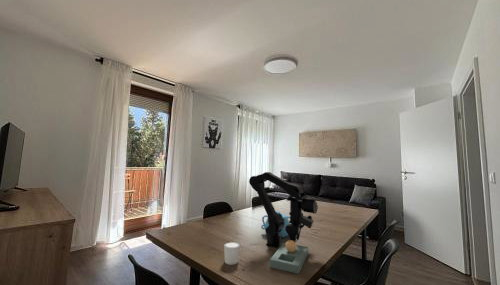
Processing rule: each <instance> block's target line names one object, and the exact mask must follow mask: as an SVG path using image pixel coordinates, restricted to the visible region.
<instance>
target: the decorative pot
mask: <svg viewBox="0 0 500 285" xmlns="http://www.w3.org/2000/svg"><path fill="white" fill-rule="evenodd" d="M276 213H278V214H281V215H282V217H283V219H284V220H285V221H284V223H285V225H284V228H283V229H282V230H281V232H280V236H281V238H286V237H287V236H288V234H287V232H286V231H285V227H286V226H287V225H288V224H292V223H289V221H290V220H289V219H290V215H289V216H287V214H285V213H281V212H280V211H276ZM265 218H267V219H266V220H265ZM261 221H262V223H263V224H262V225H261V227H260V228H261V229H262V230H264V231H265V229H266V228H267V227H268V226H269V224H268V215H267V214H266V215H263V216H262V219H261ZM288 237H289V236H288Z"/></svg>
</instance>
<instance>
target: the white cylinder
mask: <svg viewBox="0 0 500 285" xmlns="http://www.w3.org/2000/svg"><path fill="white" fill-rule="evenodd" d="M240 246H241V245H240V243H238V242H235V241H234V242H233V241H231V242H226V243H224V244H223V249H224V254H223V255H224V262H225V264H226V265H231V266H232V265H236V264H238V263H239V256H240V248H241V247H240Z"/></svg>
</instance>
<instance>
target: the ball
mask: <svg viewBox="0 0 500 285" xmlns="http://www.w3.org/2000/svg"><path fill="white" fill-rule="evenodd" d="M285 243H286V245H285V247H286V249H287V251H289V252H294V251H295V250H296V247H297V246H296V245H297V244H296V243H297V242H294V241H292V240H290V239H289V240H287V241H286V242H285Z"/></svg>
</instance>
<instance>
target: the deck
mask: <svg viewBox="0 0 500 285" xmlns="http://www.w3.org/2000/svg"><path fill="white" fill-rule="evenodd" d="M285 245H286V242H283V243H281V246H279V247H278V249H277V250H276V251H275V253H274V254H273V255H272V256H271V257H270V258H269V268H272V269H277V270H280V271H284V272H289V273H293V274H299V275H300V272H301V270H302V269H303V268H302V267H303V266H304V263H305V261H306V259H307V256H308V255H309V246H305V245H300V244H296V246H297V247H296V250H295V251H294V252H289V251H287V249H286V247H285Z"/></svg>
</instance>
